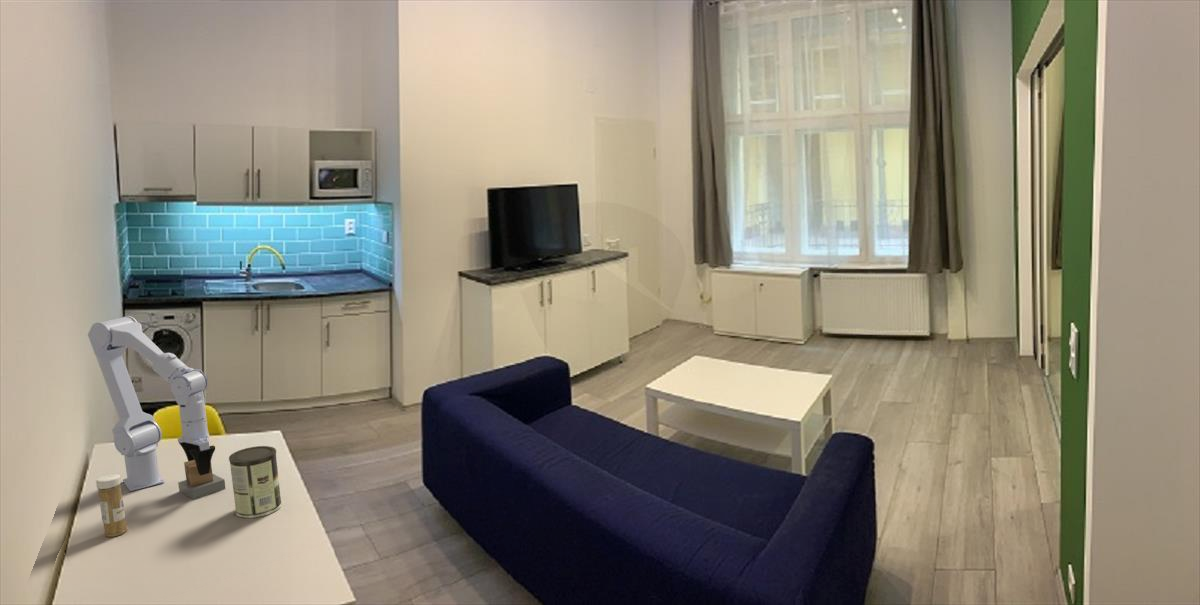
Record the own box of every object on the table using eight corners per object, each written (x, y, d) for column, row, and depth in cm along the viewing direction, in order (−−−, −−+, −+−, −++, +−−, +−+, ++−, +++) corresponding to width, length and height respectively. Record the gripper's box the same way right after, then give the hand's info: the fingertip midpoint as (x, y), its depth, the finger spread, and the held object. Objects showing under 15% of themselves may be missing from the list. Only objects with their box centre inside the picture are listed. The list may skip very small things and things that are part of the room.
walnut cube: (186, 480, 195) (184, 462, 194) (207, 475, 199) (205, 457, 198) (191, 486, 192) (189, 467, 191) (213, 480, 195) (210, 462, 194)
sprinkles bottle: (128, 533, 172) (120, 477, 170) (104, 539, 170) (95, 482, 168) (127, 526, 176) (119, 471, 174) (103, 531, 174) (95, 476, 171)
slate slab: (179, 493, 195) (178, 482, 194) (211, 483, 201) (210, 472, 201) (193, 501, 190) (192, 490, 190) (225, 490, 196) (224, 479, 196)
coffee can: (257, 497, 190) (251, 443, 188) (291, 502, 187) (285, 447, 184) (225, 515, 181) (218, 459, 178) (259, 521, 177) (253, 463, 175)
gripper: (168, 416, 195) (174, 466, 197) (184, 429, 184) (191, 482, 187) (197, 409, 199) (203, 459, 202) (215, 422, 189) (221, 474, 191)
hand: (199, 469), depth 195 cm, fingers open, 7 cm apart
